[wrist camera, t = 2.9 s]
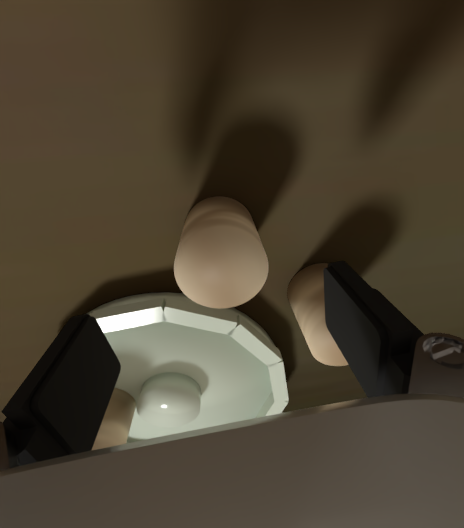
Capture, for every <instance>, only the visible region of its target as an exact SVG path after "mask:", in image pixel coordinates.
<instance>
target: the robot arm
mask: <svg viewBox="0 0 464 528" xmlns="http://www.w3.org/2000/svg"><path fill="white" fill-rule="evenodd" d="M323 275H324V302H325V322H326V326H327V329H328V331H329V332H330V334H331V336H332V337H333V339H334V341H335V342H336V344H337V346H338V348H339V349H340V351H341V353H342V354H343V356H344V358H345V359H346V361H347V363H348V364H349V366H350V368H351V370H352V371H353V373H354V375H355V376H356V378H357V380H358V381H359V383H360V385H361V386H362V388H363V390H364V392H365V393H366V395H367V397H368V398H363V399H357V400H351V401H346V402H340V403H334V404H328V405H322V406H317V407H311V408H306V409H301V410H296V411H290V412H285V413H280V414H275V415H269V416H264V417H259V418H254V419H248V420H243V421H238V422H233V423H228V424H222V425H217V426H212V427H207V428H202V429H197V430H192V431H187V432H182V433H177V434H171V435H166V436H161V437H156V438H151V439H146V440H141V441H136V442H131V443H126V444H121V445H116V446H111V447H107V448H102V449H97V450H92V448H93V445H94V442H95V439H96V437H97V434H98V431H99V428H100V426H101V423H102V420H103V418H104V415H105V412H106V409H107V407H108V404H109V401H110V398H111V396H112V393H113V390H114V388H115V385H116V382H117V379H118V377H119V374H120V371H121V365H120V362H119V360H118V358H117V356H116V354H115V353H114V351H113V349H112V347H111V345H110V344H109V342H108V340H107V338H106V336H105V335H104V333H103V331H102V329H101V327H100V326H99V324H98V322H97V320H96V319H95V317H93V316H90V315H89V314H83V315H78V316H74V317H71V318H70V319H69V321H68V322H67V323H66V325H65V326H64V327H63V329H62V330H61V332H60V333H59V334H58V336H57V337H56V338H55V340H54V341H53V342H52V344H51V345H50V346H49V348H48V349H47V351H46V352H45V353H44V355H43V356H42V357H41V359H40V360H39V361H38V363H37V364H36V366H35V367H34V368H33V370H32V371H31V372H30V374H29V375H28V376H27V378H26V379H25V380H24V382H23V383H22V385H21V386H20V387H19V389H18V390H17V391H16V393H15V394H14V395H13V397H12V398H11V399H10V401H9V402H8V404H7V405H6V406H5V408H4V409H3V410H2V413H3V414H4V415H5V416H6V417H7V418H6V419H5V420H4V422H3V423H2V422H1V421H0V528H464V339H462V338H460V337H457V336H453V335H450V334H445V333H429V334H425V335H424V334H423V333H422V332H421V331H420V330H419V329H418V328H417V327H416V326H414V325H413V324H412V323H411V322H410V321H409V320H408V319H407V318H406V317H405V316H404V315H403V314H402V313H401V312H400V311H399V310H398V309H397V308H396V307H395V306H394V305H393V304H392V303H390V302H389V301H388V300H387V299H386V298H385V297H384V296H383V295H382V294H381V293H380V292H379V291H378V290H376V289H373V288H371V287H370V286H369V285H368V284H367V283H366V282H365V281H364V280H363V279H362V278H361V277H360V276H359V275H358V274H357V273H356V272H355V271H354V270H353V269H352V268H351V267H350V266H349V265H348V264H347V263H346V262H345V261H339V262H334V263H329V264H328V266H327V268H324V270H323ZM91 450H92V451H91Z"/></svg>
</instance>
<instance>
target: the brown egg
mask: <svg viewBox="0 0 464 528" xmlns="http://www.w3.org/2000/svg"><path fill="white" fill-rule="evenodd" d="M327 266H328V263H318V264H313V265H310V266H307V267H305V268H304V269H302V270H300V271H299V272H298V273H297V274H296V275H295V276H294V277H293V278H292V280H291V281H290V283H289V286H288V289H287V297H288V300H289V303H290V305H291V307H292V310H293V312H294V314H295V316H296V319H297V321H298V323H299V326H300V328H301V330H302V333H303V335H304V337H305V339H306V342H307V344H308V346H309V349H310V351H311V353H312V355H313V356H314V358H315V359H317V360H318V361H319V362H321V363H323V364H326V365H331V366H344V365H349V364H348V363H347V361H346V359H345V358H344V356H343V354H342V353H341V351H340V349H339V348H338V346H337V344H336V342H335V341H334V339H333V337H332V336H331V334H330V332H329V331H328V329H327V326H326V322H325V302H324V275H323V270H324V268H327Z"/></svg>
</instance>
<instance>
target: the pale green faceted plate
mask: <svg viewBox="0 0 464 528" xmlns="http://www.w3.org/2000/svg"><path fill="white" fill-rule="evenodd" d="M86 314H89V315H90V316H93V317H95V319H96V320H97V322H98V324H99V326H100V327H101V329H102V331H103V333H104V335H105V336H106V338H107V340H108V342H109V344H110V345H111V347H112V349H113V351H114V353H115V354H116V356H117V358H118V360H119V362H120V365H121V371H120V374H119V377H118V379H117V382H116V385H115V388H118V389H121V390H124V391H126V392H127V393H129V394H130V395H131V396H132V397H133V398H134V399H135V402H136V408H135V412H134V416H133V419H132V423H131V427H130V431H129V434H128V438H127V442H126V443H131V442H136V441H141V440H146V439H151V438H156V437H161V436H166V435H171V434H177V433H182V432H187V431H192V430H197V429H202V428H207V427H212V426H217V425H222V424H228V423H233V422H238V421H243V420H248V419H254V418H259V417H264V416H269V415H275V414H280V413H281V412H282V411H283V409H284V408H285V406H286V405H287V404H288V401H289V399H288V392H287V385H286V378H285V371H284V364H283V359H282V356H281V352H280V351H279V349H278V348H277V347H276V346H275V345H274V342H273V341H272V340H271V338H270V337H269V335H268V334H267V333H266V332H265V330H264V329H263V328H262V327H261V326H260V325H259V324H258V323H256V322H255V321H254V320H252V319H251V318H250V317H249V316H247V315H246V314H244V313H242V312H240V311H239V310H237V309H235V308H233V307H231V308H221V309H218V308H210V307H206V306H202V305H200V304H198V303H196V302H194V301H192V300H191V299H190V298H188V297H187V296H186V295H185V294H184V293H171V292H162V293H145V294H138V295H132V296H128V297H124V298H120V299H116V300H113V301H111V302H108V303H106V304H103V305H101V306H99V307H97V308H95V309H93V310H92V311H90V312H88V313H86Z"/></svg>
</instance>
